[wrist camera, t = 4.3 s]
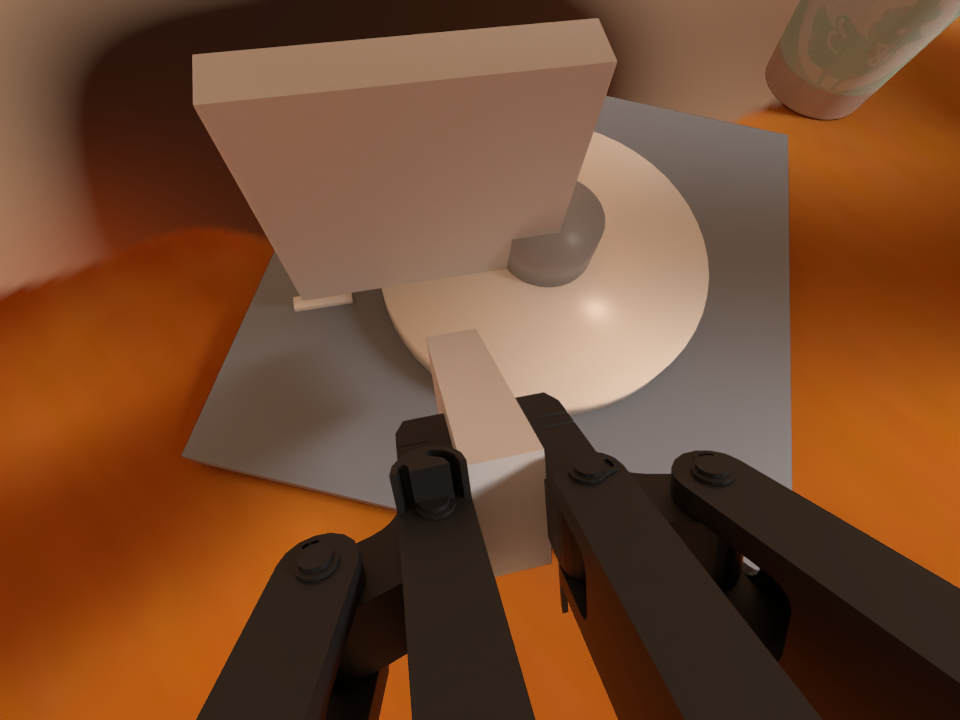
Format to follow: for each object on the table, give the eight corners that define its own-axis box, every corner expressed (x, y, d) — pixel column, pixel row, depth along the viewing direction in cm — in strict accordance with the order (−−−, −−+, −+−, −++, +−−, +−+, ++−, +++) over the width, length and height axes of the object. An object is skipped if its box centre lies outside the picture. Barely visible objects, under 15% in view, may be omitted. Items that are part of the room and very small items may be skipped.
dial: (634, 129, 26) (747, -131, 16) (741, 382, 21) (998, 227, 11) (296, 171, 24) (190, -103, 14) (328, 464, 19) (197, 361, 9)
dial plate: (771, 156, 28) (790, 132, 26) (768, 601, 19) (797, 605, 18) (372, 69, 29) (367, 41, 27) (199, 463, 20) (178, 455, 18)
